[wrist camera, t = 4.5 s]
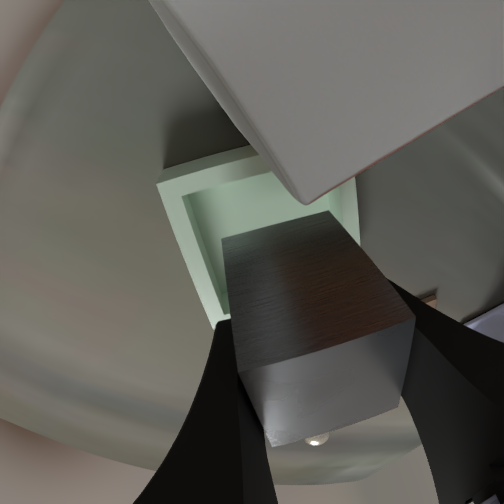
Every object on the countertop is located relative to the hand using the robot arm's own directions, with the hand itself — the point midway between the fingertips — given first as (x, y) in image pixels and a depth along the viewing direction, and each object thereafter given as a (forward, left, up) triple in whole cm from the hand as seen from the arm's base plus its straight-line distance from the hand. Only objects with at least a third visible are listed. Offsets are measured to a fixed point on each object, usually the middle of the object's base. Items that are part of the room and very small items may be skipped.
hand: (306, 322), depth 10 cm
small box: (-3, -9, -8) cm, 12 cm away
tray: (0, 0, -7) cm, 7 cm away
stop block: (0, 0, -3) cm, 3 cm away
